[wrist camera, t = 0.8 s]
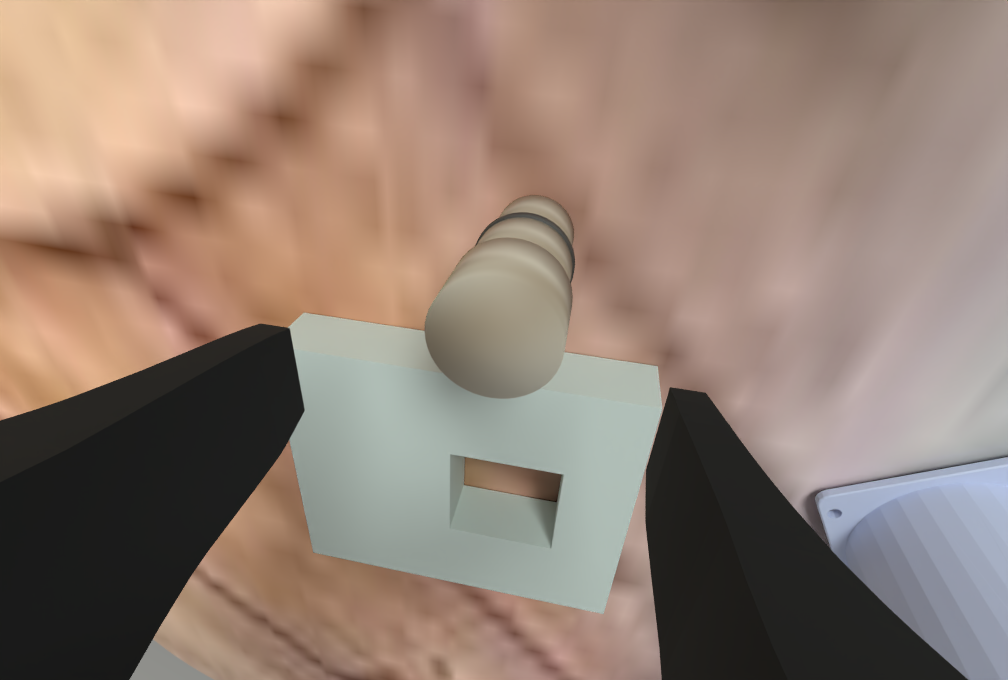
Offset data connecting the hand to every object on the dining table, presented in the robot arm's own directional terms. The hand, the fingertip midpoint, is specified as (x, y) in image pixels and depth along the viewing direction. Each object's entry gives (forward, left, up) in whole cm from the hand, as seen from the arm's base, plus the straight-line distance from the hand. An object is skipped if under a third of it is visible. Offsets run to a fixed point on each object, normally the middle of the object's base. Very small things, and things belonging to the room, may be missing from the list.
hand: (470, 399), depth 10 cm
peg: (0, 0, -9) cm, 9 cm away
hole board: (-8, +7, -9) cm, 14 cm away
